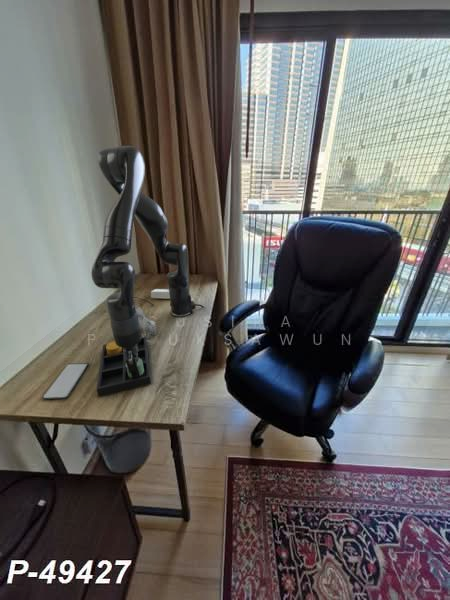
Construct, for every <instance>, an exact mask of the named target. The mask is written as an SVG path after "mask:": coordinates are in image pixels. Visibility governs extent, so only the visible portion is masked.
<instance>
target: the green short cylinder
mask: <svg viewBox="0 0 450 600" xmlns="http://www.w3.org/2000/svg"><path fill="white" fill-rule="evenodd" d="M137 363H138V370H139V374H140V376H141V375H142V374H143V373H144V368H143V363H142V360H141V359H140V358H138V362H137ZM126 369H127V373H128V376H129V377H131V378H132V375H131V373H129V370H128V367H127V363H126Z"/></svg>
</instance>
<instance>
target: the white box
mask: <svg viewBox="0 0 450 600" xmlns="http://www.w3.org/2000/svg"><path fill="white" fill-rule="evenodd" d="M150 298H151V299H168V300H170V294H169V288H168V289H167V288H166V289H165V288H161V289H160V288H155V289H153V290H151V291H150Z"/></svg>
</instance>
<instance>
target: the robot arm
mask: <svg viewBox="0 0 450 600" xmlns="http://www.w3.org/2000/svg"><path fill="white" fill-rule="evenodd" d="M97 164H98V166H99V167H98V168H99V169H100V171H101V173H102V175H103V177H104V178H105V180H106V181H107V183H108V184H109V185H110V186H111V187H112V189H113V190H114V191H115V193H117V194H118V197H117V199H116V200H115V202H114V204H113V205H112V206H111V208H110V209H109V211H108V213H107V215H106V218H105V220H104V225H103V234H102V244H101V246H100V248H99V251H98V253H97V255H96V257H95V259H94V262H93V264H92V267H91V279H92V282H93V284H94V285H95V286H96V287H97V288H99V289H119V291H120V292H115V293H112V294H110V295H109V296H108V297H107V298H106V302H105V303H106V308H107V311H108V312H107V313H108V315H109V319H110V320H109V322H110V328H111V331H112V335H113V339H114V341H115V343H116V345H117V346H119V347H123V348H124V349H123V351H124V355H125V357H126V363H127V367H128V370H129V373H131V375H132V378H133V379H135V378H139V377H140V374H139V370H138V363H137V362H138V353H137V352H138V345H137V344H138V343H139V342H140V341H141V338H142V337H143V336H142V332H141V329H140V325H139V320H138V317H137V314H136V305H135V301H134V300H135V298H134V297H135V283H136V275H137V274H136V269H135V268H134V266H133V265H132V264H131V263H130V262H128V261H116V259H117V258H119V257H123V256H126V255H128V254H130V252H131V249H132V239H133V228H134V220H135V219H136V221H137V222H138V224H139V225H140V227H141V228H142V230H143V231H144V233H145V234H146V235H147V236H148V238H149V239H150V241H151V243H152V244H153V246H154V248H155V250H156V253H157V255H158V256H159V258H160V260H161V261H162V262H163V263H164V264H166V265H171V266H177V268H176V269H173V270H171V271H169V272H168V273H167V275H166V278H167V285H168V290H169V294H170V299H169V302H170V303H169V306H170V312H171V315H172V316H174V317H177V318H183V317H187V316H188V315H190V314H191V315H192V314H193V310H196V307H201V308H202V309H204V308H205V306H203V304H199V303H195V301H194V300H192V295H191V293H190V281H189V279H190V278H189V272H190V271H189V268H190V267H189V251H188V250H189V249H188V247H187V245H186V244H185V243H176V242H175V243H174V242H169V240H167V239H166V234H167V231H168V227H169V221H168V218H167V216H166V214H165V212H163V209H162V207H161V206H160V205H159V203H157V202H156V201H155V200H153V199H152V197H151V198H150V197H149V196H148V195H146V194H145V193H143V192H142V189H143V185H144V181H145V176H146V163H145V159H144V157H143V154H142V152H141V151H140V149H138V148H137V147H136V146H134V145H122V146H121V145H120V146H112V147H106V148H103V149H101V150H99V152H98V154H97ZM128 358H129V359H128Z"/></svg>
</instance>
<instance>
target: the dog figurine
mask: <svg viewBox="0 0 450 600" xmlns="http://www.w3.org/2000/svg"><path fill="white" fill-rule="evenodd" d="M135 310H136V314H137V317H138V320H139V325H140V330H142V331H143V332H144V337H146V340H149V335H150V332H151V333H152V336H156V335H157V333H156V323H155V321H153V320H151V319H149V318H148V317H147V316H145V315H144V312H143V310H142V307H140V306H138V307H136V308H135Z"/></svg>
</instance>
